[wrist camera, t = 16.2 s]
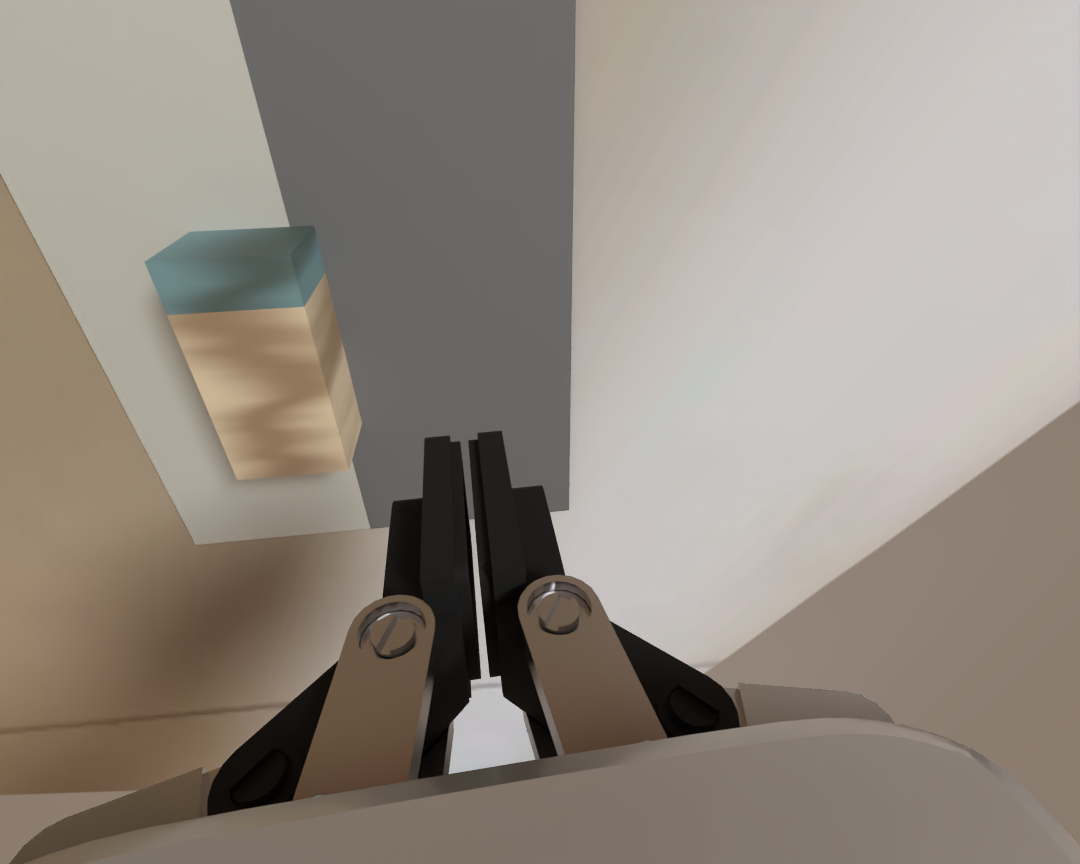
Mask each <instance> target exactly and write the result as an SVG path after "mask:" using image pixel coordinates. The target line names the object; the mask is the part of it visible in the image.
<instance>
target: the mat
mask: <svg viewBox="0 0 1080 864" xmlns="http://www.w3.org/2000/svg"><path fill="white" fill-rule="evenodd" d="M575 10H576V0H0V174H1V176H2V178H3V179H4V181H5V183H6V185H7V187H8V189H9V191H10V193H11V195H12V197H13V198H14V200H15V202H16V204H17V206H18V208H19V210H20V212H21V214H22V216H23V218H24V219H25V221H26V223H27V225H28V227H29V229H30V231H31V233H32V235H33V237H34V238H35V240H36V242H37V244H38V246H39V248H40V250H41V252H42V254H43V256H44V257H45V259H46V261H47V263H48V265H49V267H50V269H51V271H52V273H53V275H54V276H55V278H56V280H57V282H58V284H59V286H60V288H61V290H62V292H63V294H64V295H65V297H66V299H67V301H68V303H69V305H70V307H71V309H72V311H73V313H74V314H75V316H76V318H77V320H78V322H79V324H80V326H81V328H82V330H83V332H84V333H85V335H86V337H87V339H88V341H89V343H90V345H91V347H92V349H93V351H94V352H95V354H96V356H97V358H98V360H99V362H100V364H101V366H102V368H103V370H104V371H105V373H106V375H107V377H108V379H109V381H110V383H111V385H112V387H113V389H114V390H115V392H116V394H117V396H118V398H119V400H120V402H121V404H122V406H123V408H124V410H125V411H126V413H127V415H128V417H129V419H130V421H131V423H132V425H133V427H134V429H135V430H136V432H137V434H138V436H139V438H140V440H141V442H142V444H143V446H144V448H145V449H146V451H147V453H148V455H149V457H150V459H151V461H152V463H153V465H154V467H155V468H156V470H157V472H158V474H159V476H160V478H161V480H162V482H163V484H164V486H165V487H166V489H167V491H168V493H169V495H170V497H171V499H172V501H173V503H174V505H175V506H176V508H177V510H178V512H179V514H180V516H181V518H182V520H183V522H184V524H185V525H186V527H187V529H188V531H189V533H190V535H191V537H192V539H193V541H194V543H195V544H196V545H201V544H211V543H222V542H233V541H243V540H254V539H265V538H276V537H286V536H297V535H308V534H318V533H329V532H340V531H351V530H361V529H372V528H383V527H390V519H391V509H392V503H393V501H398V500H407V499H417V498H422V496H423V466H424V439H425V438H427V437H438V436H449V435H450V439H451V442H455V441H460V443H461V452H462V461H463V470H464V479H465V488H466V497H467V506H468V515H469V519H475V518H474V506H473V494H472V482H471V469H470V457H469V445H468V440H476V439H478V436H477V433H481V432H491V431H502V435H503V440H504V446H505V452H506V457H507V463H508V469H509V475H510V480H511V486H512V488H520V487H529V486H539V485H542V486H543V489H544V492H545V496H546V500H547V504H548V508H549V512H554V511H565V510H569V457H570V383H571V308H572V234H573V159H574V85H575ZM296 226H314V228H315V232H316V236H317V240H318V244H319V248H320V252H321V256H322V260H323V265H324V269H325V273H326V277H327V281H328V285H329V289H330V293H331V298H332V302H333V306H334V310H335V314H336V318H337V322H338V326H339V330H340V335H341V339H342V343H343V347H344V351H345V355H346V359H347V363H348V367H349V372H350V376H351V380H352V384H353V388H354V392H355V396H356V400H357V404H358V409H359V413H360V417H361V421H362V425H361V429H360V433H359V436H358V440H357V444H356V448H355V451H354V455H353V459H352V462H351V466H350V470H349V471H340V472H328V473H316V474H304V475H293V476H281V477H269V478H257V479H246V480H237V478H236V476H235V473H234V471H233V469H232V466H231V464H230V462H229V459H228V457H227V455H226V452H225V450H224V448H223V445H222V443H221V441H220V438H219V436H218V434H217V431H216V429H215V426H214V424H213V422H212V419H211V417H210V415H209V412H208V410H207V408H206V405H205V403H204V401H203V398H202V396H201V394H200V391H199V389H198V387H197V384H196V382H195V380H194V377H193V375H192V373H191V370H190V368H189V365H188V363H187V361H186V358H185V356H184V354H183V351H182V349H181V347H180V344H179V342H178V340H177V337H176V335H175V333H174V330H173V328H172V326H171V323H170V321H169V319H168V316H167V314H166V312H165V309H164V307H163V305H162V302H161V300H160V297H159V295H158V293H157V290H156V288H155V286H154V283H153V281H152V279H151V276H150V274H149V272H148V269H147V267H146V265H145V261H147V260H148V259H150V258H151V257H153V256H154V255H156V254H157V253H159V252H160V251H162V250H163V249H165V248H166V247H168V246H169V245H171V244H172V243H174V242H175V241H177V240H178V239H180V238H181V237H183V236H184V235H186V234H187V233H189V232H194V231H214V230H235V229H255V228H276V227H296Z"/></svg>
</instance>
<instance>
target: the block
mask: <svg viewBox="0 0 1080 864" xmlns="http://www.w3.org/2000/svg"><path fill="white" fill-rule="evenodd" d="M145 265H146V267H147V269H148V272H149V274H150V276H151V279H152V281H153V283H154V286H155V288H156V290H157V293H158V295H159V297H160V300H161V302H162V305H163V307H164V309H165V312H166V314H167V316H168V319H169V321H170V323H171V326H172V328H173V330H174V333H175V335H176V337H177V340H178V342H179V344H180V347H181V349H182V351H183V354H184V356H185V358H186V361H187V363H188V365H189V368H190V370H191V373H192V375H193V377H194V380H195V382H196V384H197V387H198V389H199V391H200V394H201V396H202V398H203V401H204V403H205V405H206V408H207V410H208V412H209V415H210V417H211V419H212V422H213V424H214V426H215V429H216V431H217V434H218V436H219V438H220V441H221V443H222V445H223V448H224V450H225V452H226V455H227V457H228V459H229V462H230V464H231V466H232V469H233V471H234V473H235V476H236V478H237V480H246V479H257V478H269V477H281V476H293V475H304V474H316V473H328V472H340V471H349V470H350V466H351V462H352V459H353V455H354V451H355V448H356V444H357V440H358V436H359V433H360V429H361V425H362V421H361V417H360V413H359V409H358V404H357V400H356V396H355V392H354V388H353V384H352V380H351V376H350V372H349V367H348V363H347V359H346V355H345V351H344V347H343V343H342V339H341V335H340V330H339V326H338V322H337V318H336V314H335V310H334V306H333V302H332V298H331V293H330V289H329V285H328V281H327V277H326V273H325V269H324V265H323V260H322V256H321V252H320V248H319V244H318V240H317V236H316V232H315V228H314V226H296V227H276V228H255V229H235V230H214V231H194V232H189V233H187V234H186V235H184V236H183V237H181V238H180V239H178V240H177V241H175V242H174V243H172V244H171V245H169V246H168V247H166V248H165V249H163V250H162V251H160V252H159V253H157V254H156V255H154V256H153V257H151V258H150V259H148V260H147V261H145Z"/></svg>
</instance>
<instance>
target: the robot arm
mask: <svg viewBox="0 0 1080 864" xmlns="http://www.w3.org/2000/svg"><path fill="white" fill-rule="evenodd" d="M477 436H478V439H476V440H468V445H469V457H470V469H471V482H472V494H473V506H474V518H475V530H476V542H477V555H478V566H479V577H480V587H481V597H482V606H483V616H484V625H485V635H486V645H487V654H488V664H489V673H490V677H495V676H501V682H502V692H503V696H504V697H505V698H506V699H508V700H509V701H510V702H512V703H513V704H515V705H516V706H517V707H519V708H520V709H521V710H523V716H524V722H525V725H526V729H527V732H528V735H529V739H530V742H531V746H532V749H533V753H534V756H535V759H536V760H532V761H526V762H520V763H514V764H508V765H502V766H496V767H490V768H484V769H478V770H472V771H466V772H460V773H454V774H449V766H450V758H451V750H452V742H453V733H454V722H453V720H454V719H455V718H456V716H457V715H458V714H459V713H460V712H461V711H462V710H463V708H464V707H465V706H466V705H467V704H468V703H469V698H471V681H470V680H475V679H481V670H480V656H479V642H478V628H477V614H476V600H475V586H474V572H473V558H472V545H471V534H470V524H469V515H468V506H467V497H466V488H465V479H464V470H463V461H462V452H461V443H460V441H455V442H451V439H450V435H449V436H438V437H427V438H425V439H424V466H423V496H422V498H417V499H407V500H398V501H393V503H392V509H391V519H390V529H389V539H388V549H387V559H386V569H385V579H384V589H383V598H382V599H379V600H377V601H374V602H373V603H371V604H370V605H368V606H367V607H365V608H364V609H363V610H362V611H361V612H360V613H359V614H358V615H357V616H356V617H355V619H354V621H353V622H352V624H351V626H350V628H349V631H348V634H347V637H346V640H345V643H344V646H343V649H342V652H341V655H340V658H339V661H337V662H336V663H335V664H334V665H333V666H332V667H331V668H330V669H328V670H327V671H326V672H325V673H324V674H323V675H322V676H320V677H319V678H318V679H317V680H316V681H315V682H314V683H312V684H311V685H310V686H309V687H308V688H307V689H306V690H304V691H303V692H302V693H301V694H300V695H299V696H298V697H296V698H295V699H294V700H293V701H292V702H291V703H290V704H288V705H287V706H286V707H285V708H284V709H283V710H282V711H280V712H279V713H278V714H277V715H276V716H275V717H274V718H273V719H271V720H270V721H269V722H268V723H267V724H266V725H265V726H263V727H262V728H261V729H260V730H259V731H258V732H257V733H255V734H254V735H253V736H252V737H251V738H250V739H249V740H247V741H246V742H245V743H244V744H243V745H242V746H241V747H239V748H238V749H237V750H236V751H235V752H234V753H233V754H232V755H231V756H230V757H229V759H228V760H227V761H226V762H225V763H224V764H223V765H222V767H220V768H217V769H214V770H212V771H209V772H206V771H205V769H204V768H203V767H201V768H199V769H196V770H193V771H191V772H188V773H185V774H182V775H180V776H177V777H174V778H172V779H169V780H166V781H164V782H161V783H158V784H156V785H153V786H150V787H148V788H145V789H142V790H139V791H137V792H134V793H132V794H129V795H126V796H123V797H121V798H118V799H115V800H113V801H110V802H107V803H105V804H102V805H99V806H96V807H94V808H91V809H88V810H86V811H83V812H80V813H78V814H75V815H73V816H69V817H67V818H64V819H62V820H61V821H59V822H57V823H55V824H53V825H51V826H49V827H47V828H45V829H44V830H42V831H41V832H40V833H39V834H38V835H36V836H35V837H34V838H33V839H31V840H30V841H29V842H28V843H27V844H25V845H24V846H23V847H22V849H21V850H20V851H19V852H18V854H17V855H16V856H15V857H14V859H13V860H12V861H11V862H10V863H9V864H1080V847H1079V845H1078V844H1077V843H1076V842H1075V841H1074V840H1073V839H1072V837H1071V836H1070V835H1069V834H1068V833H1067V832H1066V831H1065V830H1064V829H1063V827H1061V826H1060V824H1059V823H1058V822H1057V821H1056V820H1055V819H1054V818H1053V817H1052V816H1051V815H1050V814H1049V813H1048V811H1047V810H1045V808H1044V807H1043V806H1042V805H1041V804H1040V803H1039V802H1038V801H1037V800H1036V799H1035V798H1034V797H1033V796H1032V795H1031V794H1030V793H1029V792H1028V791H1027V790H1026V789H1025V788H1024V787H1023V786H1022V785H1021V784H1020V783H1019V782H1017V781H1016V780H1015V779H1014V778H1013V777H1012V776H1011V775H1009V774H1008V773H1007V772H1006V771H1005V770H1004V769H1003V768H1001V767H1000V766H999V765H997V764H996V763H994V762H993V761H992V760H990V759H989V758H987V757H986V756H985V755H983V754H981V753H979V752H977V751H976V750H974V749H972V748H970V747H968V746H966V745H964V744H962V743H959V742H956V741H954V740H952V739H949V738H947V737H943V736H941V735H938V734H935V733H932V732H928V731H925V730H921V729H917V728H913V727H910V726H906V725H902V724H896V723H894V721H893V720H892V718H891V717H890V715H889V714H888V713H886V712H885V711H884V710H883V709H882V708H881V707H880V706H879V705H878V704H877V703H875V702H873V701H871V700H869V699H868V698H866V697H864V696H862V695H859V694H855V693H851V692H847V691H836V690H823V689H811V688H798V687H784V686H772V685H758V684H745V683H738V685H737V688H736V689H735V688H723V687H722V686H721V685H719V684H718V683H717V682H715V681H714V680H712V679H711V678H710V677H708V676H706V675H704V674H703V673H701V672H699V671H697V670H696V669H694V668H692V667H690V666H689V665H687V664H685V663H683V662H682V661H680V660H678V659H676V658H674V657H673V656H671V655H669V654H667V653H666V652H664V651H662V650H660V649H659V648H657V647H655V646H653V645H652V644H650V643H648V642H646V641H644V640H643V639H641V638H639V637H637V636H636V635H634V634H632V633H630V632H629V631H627V630H625V629H623V628H622V627H620V626H618V625H616V624H614V623H613V622H611V621H610V620H609V618H608V616H607V614H606V612H605V610H604V608H603V606H602V604H601V602H600V600H599V598H598V596H597V595H596V594H595V592H594V591H593V589H592V588H591V587H590V586H588V585H587V584H586V583H584V582H583V581H582V580H579V579H576V578H574V577H571V576H565V573H564V568H563V564H562V560H561V556H560V552H559V548H558V544H557V540H556V536H555V532H554V528H553V524H552V520H551V516H550V512H549V508H548V504H547V500H546V496H545V492H544V489H543V486H542V485H539V486H529V487H520V488H512V486H511V480H510V475H509V469H508V463H507V457H506V452H505V446H504V440H503V435H502V431H491V432H481V433H477Z"/></svg>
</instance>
